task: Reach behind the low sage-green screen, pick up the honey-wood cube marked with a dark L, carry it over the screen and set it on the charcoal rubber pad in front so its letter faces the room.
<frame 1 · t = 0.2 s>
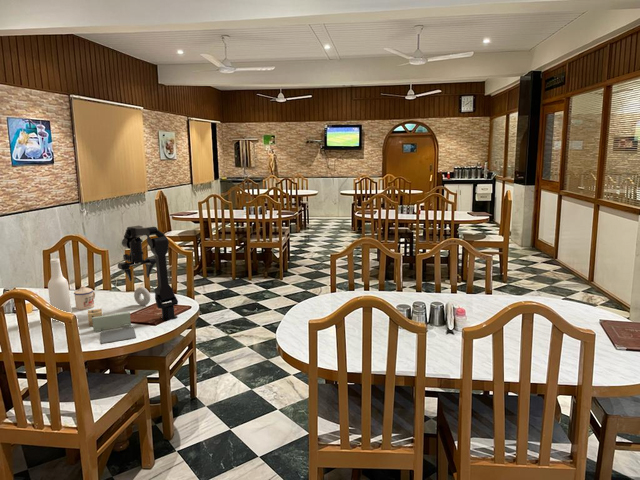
hand: (139, 279, 250), 15 cm above the table, tool pointing down, fingers open, 9 cm apart
donut: (143, 305, 253), on the table
charcoal pad: (118, 335, 213), on the table
sage screen: (112, 327, 223), on the table
teacup with lid: (87, 306, 254), on the table
marked cube: (96, 323, 229), on the table
white bottle: (62, 318, 237), on the table
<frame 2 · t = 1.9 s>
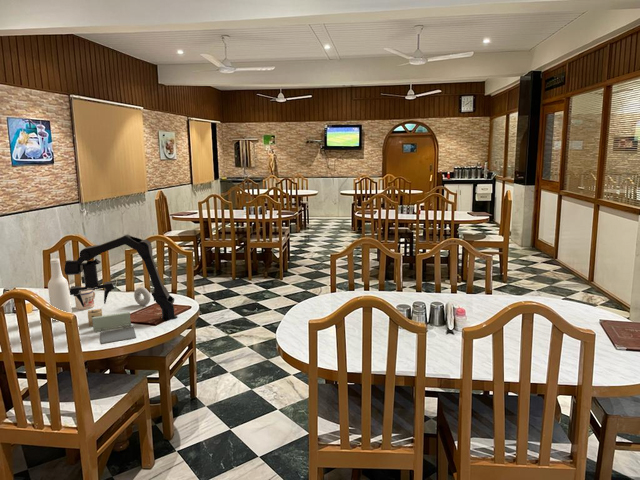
hand: (94, 305, 227), 9 cm above the table, tool pointing down, fingers open, 9 cm apart
nothing on the table moved.
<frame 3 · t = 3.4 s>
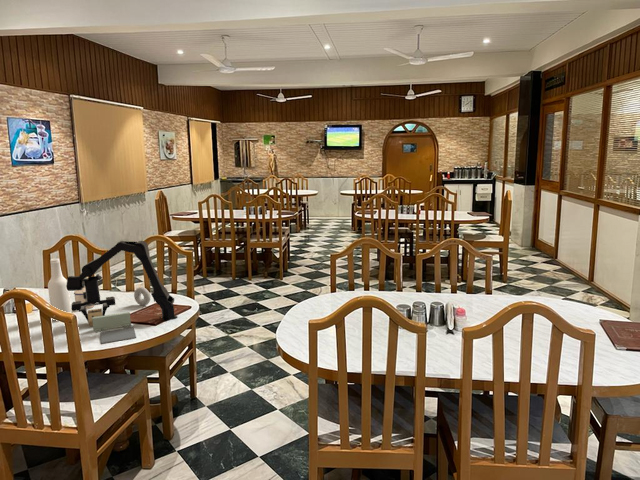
hand: (95, 320, 229), 1 cm above the table, tool pointing down, fingers closed on marked cube, 6 cm apart
marked cube: (96, 323, 229), on the table, touching gripper
everything else where it was.
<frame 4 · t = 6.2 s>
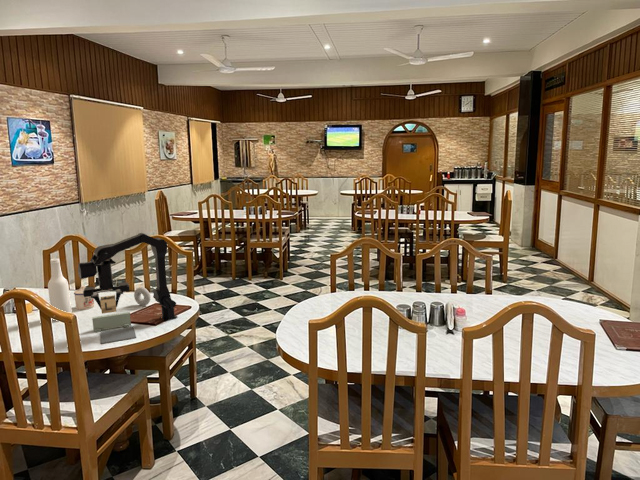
hand: (108, 307, 215), 11 cm above the table, tool pointing down, fingers closed on marked cube, 6 cm apart
marked cube: (109, 310, 216), point 10 cm above the table, touching gripper
everything else where it was.
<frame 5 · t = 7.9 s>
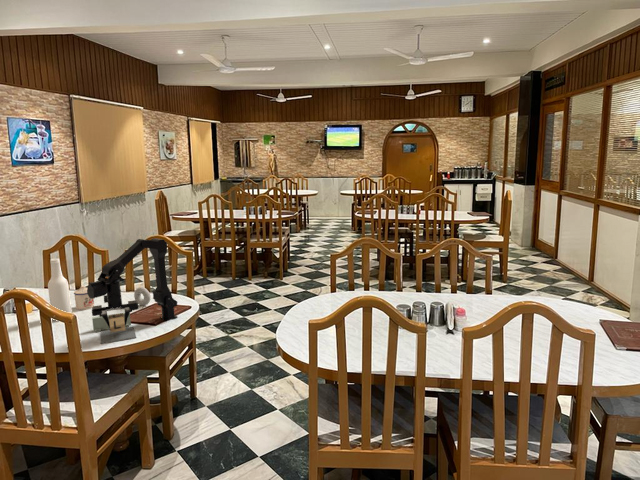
hand: (117, 326, 212), 4 cm above the table, tool pointing down, fingers closed on marked cube, 6 cm apart
marked cube: (117, 328, 212), point 3 cm above the table, touching gripper
everything else where it was.
when the fingers open (3 cm above the table, at t = 9.0 s): marked cube drops 1 cm, resting on charcoal pad.
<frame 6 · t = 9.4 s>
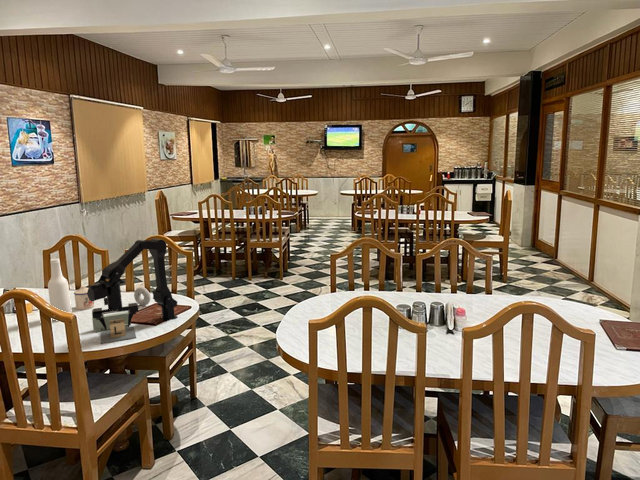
hand: (117, 328, 212), 3 cm above the table, tool pointing down, fingers open, 9 cm apart
marked cube: (118, 334, 213), resting on charcoal pad
everything else where it was.
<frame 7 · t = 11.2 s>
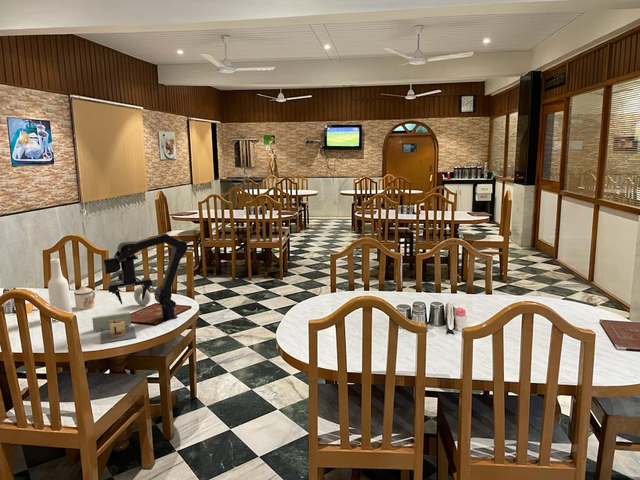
hand: (132, 302, 222), 12 cm above the table, tool pointing down, fingers open, 9 cm apart
nothing on the table moved.
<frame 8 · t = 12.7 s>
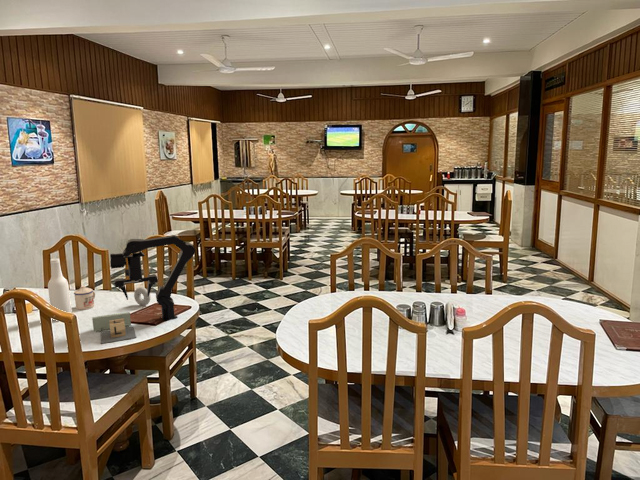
hand: (137, 298, 227), 12 cm above the table, tool pointing down, fingers open, 9 cm apart
nothing on the table moved.
at the end: marked cube inside the target area on the charcoal pad (0.0 cm from its centre), point 0.5 cm above the charcoal pad's base; marked cube tilted 0°; the gripper is holding nothing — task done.
